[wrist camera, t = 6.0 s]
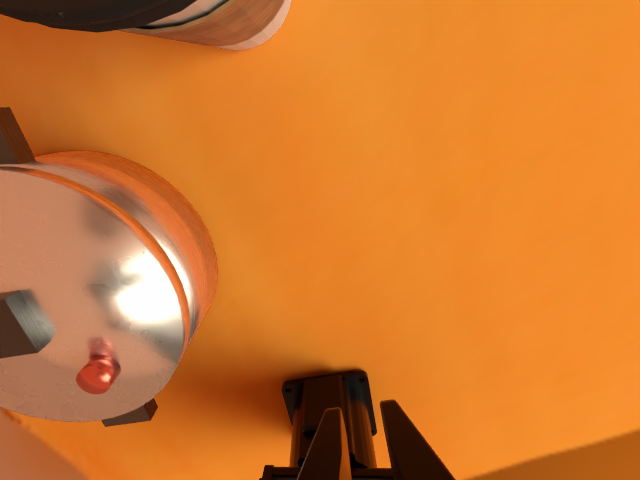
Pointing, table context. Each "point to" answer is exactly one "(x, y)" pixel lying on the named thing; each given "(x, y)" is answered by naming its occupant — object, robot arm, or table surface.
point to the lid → (82, 303)
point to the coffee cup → (162, 18)
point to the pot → (145, 206)
